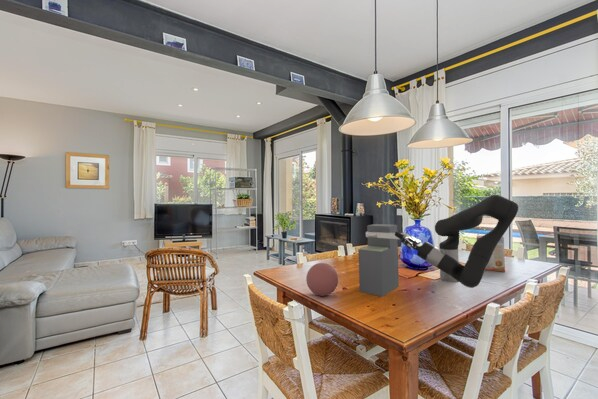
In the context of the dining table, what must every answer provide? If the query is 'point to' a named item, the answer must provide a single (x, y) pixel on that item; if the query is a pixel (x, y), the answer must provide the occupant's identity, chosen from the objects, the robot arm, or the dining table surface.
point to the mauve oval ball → (322, 279)
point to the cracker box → (496, 257)
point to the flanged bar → (383, 235)
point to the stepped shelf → (379, 262)
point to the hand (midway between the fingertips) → (396, 232)
